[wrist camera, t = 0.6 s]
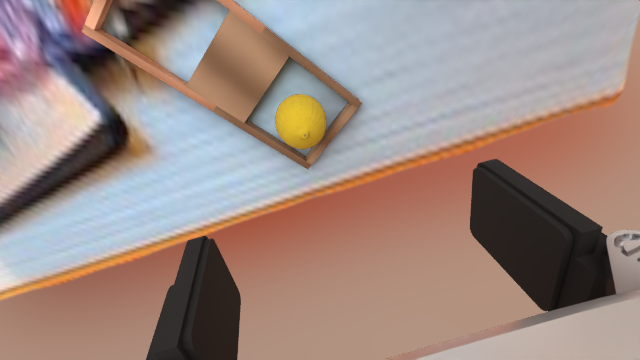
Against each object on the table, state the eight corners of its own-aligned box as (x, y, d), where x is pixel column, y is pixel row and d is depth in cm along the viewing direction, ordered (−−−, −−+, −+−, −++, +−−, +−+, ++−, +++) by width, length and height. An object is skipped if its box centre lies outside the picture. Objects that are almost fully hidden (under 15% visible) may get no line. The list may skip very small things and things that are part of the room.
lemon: (309, 137, 40) (318, 167, 33) (267, 122, 38) (268, 150, 31) (328, 96, 38) (341, 120, 31) (284, 78, 36) (288, 99, 29)
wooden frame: (134, -78, 27) (127, -81, 26) (358, 99, 38) (361, 103, 37) (89, 30, 31) (81, 31, 30) (306, 163, 42) (307, 169, 41)
